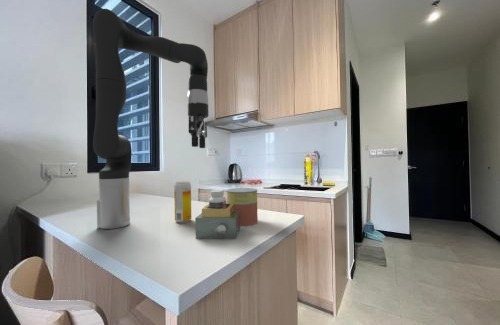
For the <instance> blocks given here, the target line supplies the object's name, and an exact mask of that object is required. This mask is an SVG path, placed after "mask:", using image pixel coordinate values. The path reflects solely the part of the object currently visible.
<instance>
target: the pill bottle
mask: <svg viewBox="0 0 500 325" xmlns="http://www.w3.org/2000/svg"><path fill="white" fill-rule="evenodd" d="M224 195H225V191H224V189H215V190H211V191H210V196H211V197H210V198H209V199H208V204H209V208H226V203H227V197H225V196H224Z"/></svg>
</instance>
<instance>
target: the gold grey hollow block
mask: <svg viewBox="0 0 500 325" xmlns="http://www.w3.org/2000/svg"><path fill="white" fill-rule="evenodd" d="M194 219H195V224H194V225H195V239H220V240H221V239H222V240H223V239H227V240H228V239H229V240H231V239H233V240H236V239H237V238H238V234H239V232H240V231H241V227H240V210H234V203H227V202H226V208H209V203H208V204H207V205H205V206H204V207H203V208H201V213H200V214H198V215H197V216H196V217H195V218H194Z"/></svg>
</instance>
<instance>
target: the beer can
mask: <svg viewBox="0 0 500 325" xmlns="http://www.w3.org/2000/svg"><path fill="white" fill-rule="evenodd" d="M173 188H174V192H173V193H174V199H173V200H174V221H175V222H176V223H177V224H184V223H189V222H190V221H191V220H192V185H191V182H190V181H188V180H187V181H175V183H174V185H173Z"/></svg>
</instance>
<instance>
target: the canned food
mask: <svg viewBox="0 0 500 325" xmlns="http://www.w3.org/2000/svg"><path fill="white" fill-rule="evenodd" d="M226 203H234V210H240V228H244V227H246V228H247V227H252V226H255V225H258V223H259V220H258V189H257V188H254V187H253V188H250V187H236V188H229V189H227V190H226Z"/></svg>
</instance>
